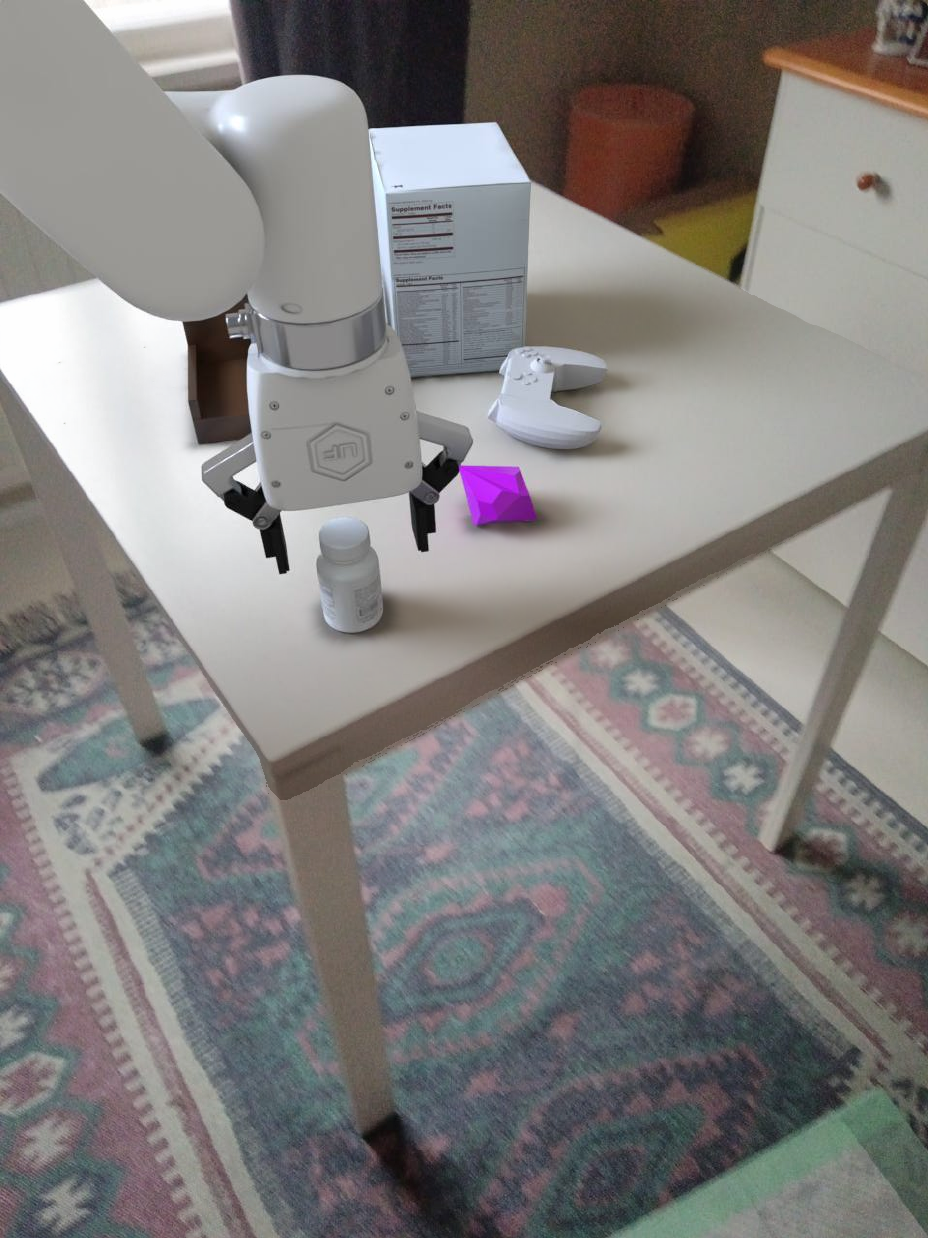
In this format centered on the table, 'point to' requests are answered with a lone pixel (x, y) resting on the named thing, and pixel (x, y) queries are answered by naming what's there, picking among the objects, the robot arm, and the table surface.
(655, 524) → the table surface
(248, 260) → the robot arm
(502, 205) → the supplement box
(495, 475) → the crystal
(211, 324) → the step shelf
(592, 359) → the game controller
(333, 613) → the pill bottle
